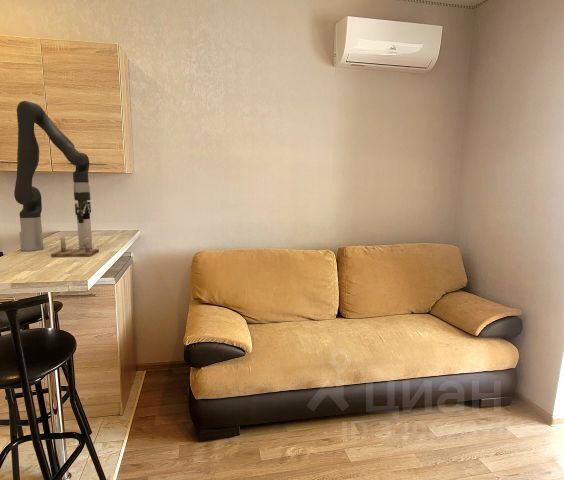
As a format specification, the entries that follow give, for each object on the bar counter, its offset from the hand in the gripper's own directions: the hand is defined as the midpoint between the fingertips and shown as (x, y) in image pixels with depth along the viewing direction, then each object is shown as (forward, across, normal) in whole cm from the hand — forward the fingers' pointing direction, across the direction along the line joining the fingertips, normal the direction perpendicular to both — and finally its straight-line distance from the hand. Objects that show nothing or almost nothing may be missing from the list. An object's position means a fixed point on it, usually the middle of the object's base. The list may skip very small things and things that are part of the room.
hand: (84, 222), depth 199 cm
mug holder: (+15, +13, 0) cm, 20 cm away
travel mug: (+15, 0, 0) cm, 15 cm away
